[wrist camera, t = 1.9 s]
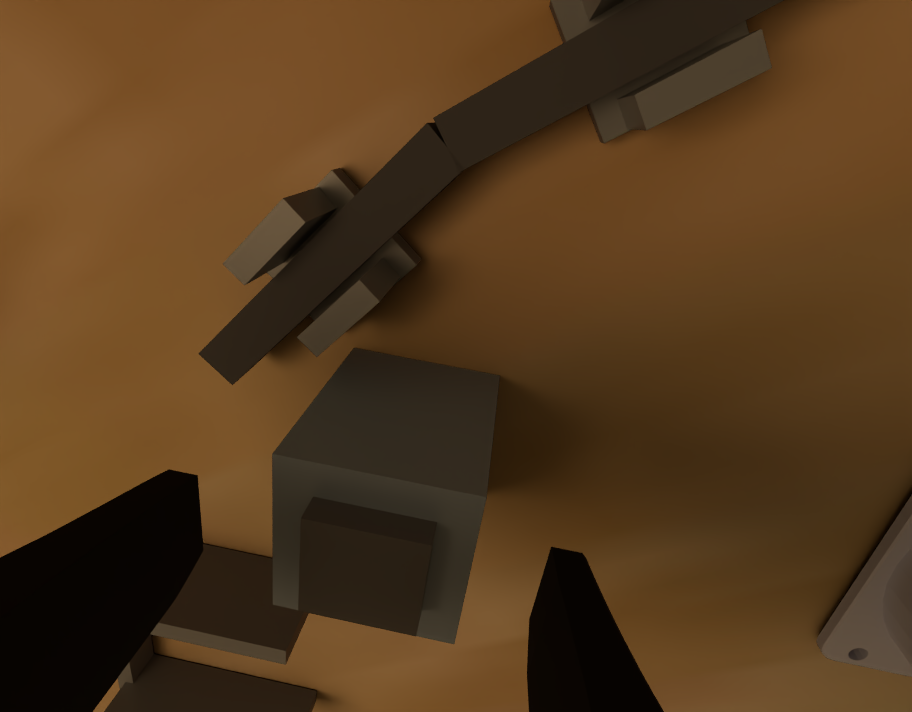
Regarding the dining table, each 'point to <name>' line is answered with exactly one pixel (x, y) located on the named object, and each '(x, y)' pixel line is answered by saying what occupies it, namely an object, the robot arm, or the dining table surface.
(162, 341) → the dining table surface
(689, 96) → the clip
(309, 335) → the clip
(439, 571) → the block
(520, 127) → the cable
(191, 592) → the end holder
